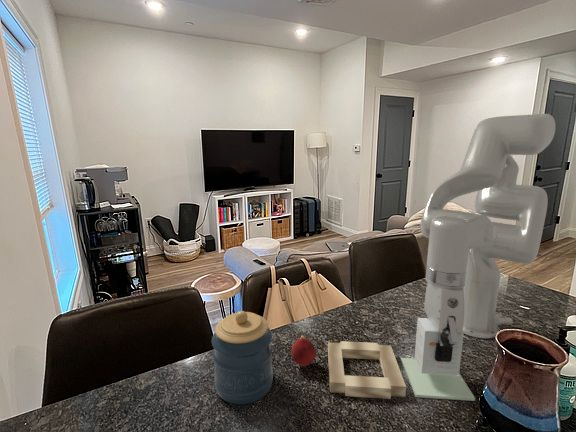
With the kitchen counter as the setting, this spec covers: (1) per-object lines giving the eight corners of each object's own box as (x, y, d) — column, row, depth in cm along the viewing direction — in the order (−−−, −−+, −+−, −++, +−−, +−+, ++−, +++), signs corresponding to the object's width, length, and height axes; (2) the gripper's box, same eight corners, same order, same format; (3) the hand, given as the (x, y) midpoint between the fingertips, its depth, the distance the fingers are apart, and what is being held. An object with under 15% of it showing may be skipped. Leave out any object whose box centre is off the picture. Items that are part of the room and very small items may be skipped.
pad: (451, 362, 77) (451, 360, 77) (475, 400, 65) (475, 398, 65) (400, 359, 78) (400, 357, 78) (415, 397, 67) (415, 394, 66)
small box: (449, 359, 73) (453, 318, 71) (459, 376, 68) (464, 332, 66) (413, 357, 74) (417, 316, 72) (421, 374, 69) (425, 330, 67)
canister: (249, 356, 80) (247, 292, 76) (285, 383, 71) (284, 311, 67) (203, 383, 71) (198, 311, 67) (237, 417, 62) (233, 337, 58)
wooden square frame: (389, 352, 81) (390, 343, 81) (406, 399, 66) (407, 389, 65) (327, 349, 83) (328, 340, 82) (330, 395, 67) (330, 384, 67)
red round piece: (317, 360, 78) (318, 331, 77) (312, 376, 73) (312, 345, 71) (295, 355, 80) (295, 327, 78) (288, 370, 75) (288, 340, 73)
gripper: (485, 294, 58) (473, 379, 62) (447, 261, 75) (440, 330, 78) (442, 292, 59) (433, 377, 62) (414, 260, 75) (409, 329, 79)
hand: (437, 350), depth 70 cm, fingers closed on small box, 5 cm apart
